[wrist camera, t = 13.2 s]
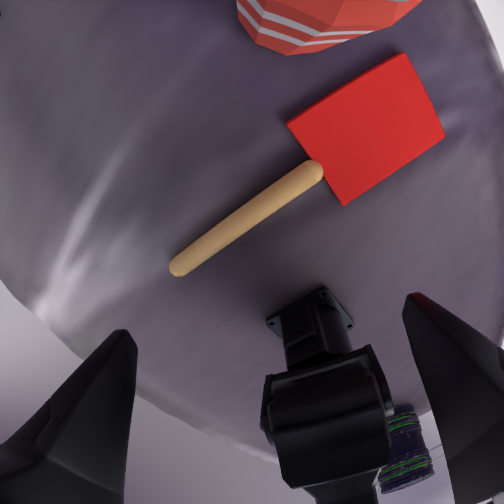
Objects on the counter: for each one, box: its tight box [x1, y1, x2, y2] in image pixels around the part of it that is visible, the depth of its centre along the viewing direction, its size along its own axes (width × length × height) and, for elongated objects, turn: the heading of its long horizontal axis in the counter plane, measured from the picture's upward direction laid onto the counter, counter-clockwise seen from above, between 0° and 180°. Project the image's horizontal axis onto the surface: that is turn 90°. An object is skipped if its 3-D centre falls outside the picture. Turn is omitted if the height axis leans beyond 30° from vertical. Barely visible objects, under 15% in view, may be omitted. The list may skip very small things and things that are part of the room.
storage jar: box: [378, 404, 435, 494], centre depth 36 cm, size 10×10×15 cm
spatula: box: [169, 52, 446, 277], centre depth 19 cm, size 23×7×2 cm, turn 128°
